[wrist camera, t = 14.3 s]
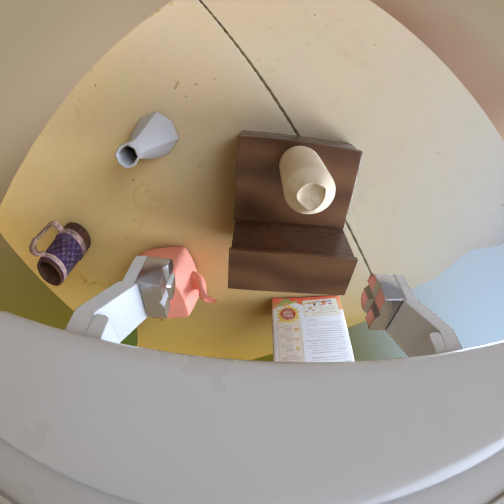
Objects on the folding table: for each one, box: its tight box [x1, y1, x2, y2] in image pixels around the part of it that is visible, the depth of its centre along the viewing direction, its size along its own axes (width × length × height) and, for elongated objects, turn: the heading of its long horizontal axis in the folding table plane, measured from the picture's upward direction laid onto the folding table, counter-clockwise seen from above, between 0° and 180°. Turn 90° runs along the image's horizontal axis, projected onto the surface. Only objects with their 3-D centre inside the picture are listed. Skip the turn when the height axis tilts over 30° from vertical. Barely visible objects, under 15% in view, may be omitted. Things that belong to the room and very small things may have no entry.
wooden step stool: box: [228, 131, 362, 295], centre depth 37 cm, size 18×16×12 cm
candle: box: [279, 146, 336, 214], centre depth 31 cm, size 6×6×10 cm
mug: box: [29, 221, 91, 286], centre depth 42 cm, size 10×7×12 cm
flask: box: [115, 112, 178, 169], centre depth 33 cm, size 7×7×10 cm
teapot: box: [141, 246, 216, 318], centre depth 48 cm, size 11×18×10 cm, turn 97°
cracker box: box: [272, 295, 354, 362], centre depth 49 cm, size 14×6×21 cm, turn 93°
